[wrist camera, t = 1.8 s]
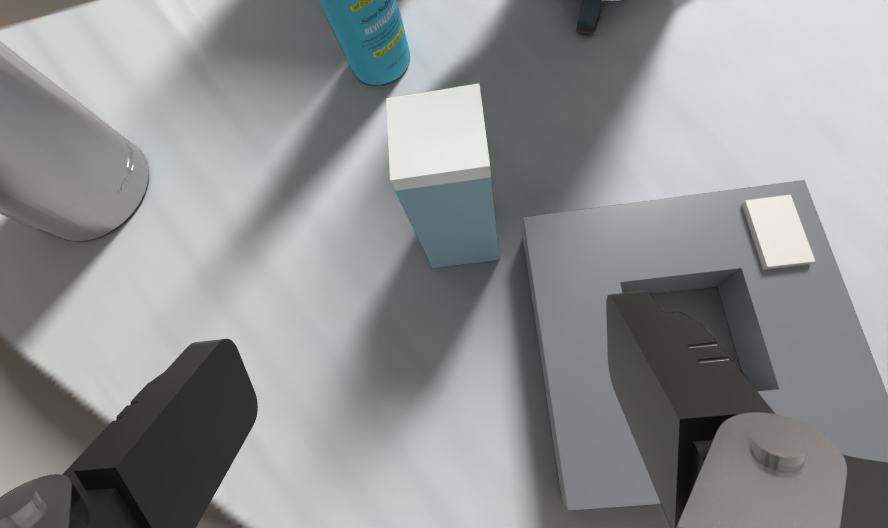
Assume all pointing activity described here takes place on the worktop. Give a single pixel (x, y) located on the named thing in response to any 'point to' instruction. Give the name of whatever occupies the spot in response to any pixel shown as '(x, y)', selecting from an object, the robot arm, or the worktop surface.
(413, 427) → the worktop surface
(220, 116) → the worktop surface
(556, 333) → the socket
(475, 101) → the white-topped blue pillar
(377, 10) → the tube
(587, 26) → the coffee press
